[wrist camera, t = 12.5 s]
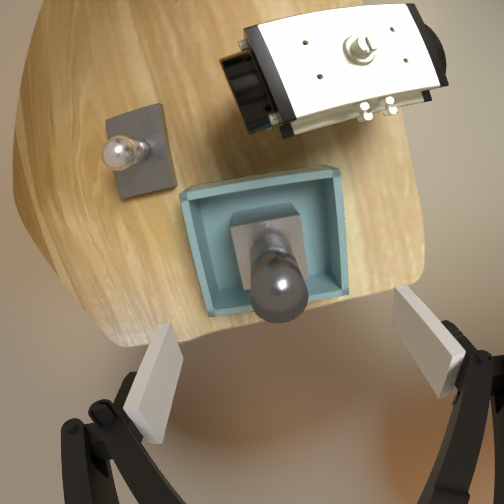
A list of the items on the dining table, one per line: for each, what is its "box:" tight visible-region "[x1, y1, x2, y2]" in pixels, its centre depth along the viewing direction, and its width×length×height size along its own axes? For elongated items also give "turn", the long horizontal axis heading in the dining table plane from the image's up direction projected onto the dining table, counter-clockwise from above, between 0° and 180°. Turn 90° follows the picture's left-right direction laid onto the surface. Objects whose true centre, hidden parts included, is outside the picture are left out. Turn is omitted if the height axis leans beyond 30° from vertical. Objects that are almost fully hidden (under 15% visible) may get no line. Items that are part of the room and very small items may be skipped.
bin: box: [179, 165, 349, 317], centre depth 34 cm, size 14×16×6 cm
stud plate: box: [102, 103, 177, 199], centre depth 29 cm, size 10×7×9 cm
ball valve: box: [219, 4, 449, 141], centre depth 22 cm, size 18×8×18 cm, turn 110°
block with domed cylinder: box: [230, 202, 309, 323], centre depth 28 cm, size 7×7×16 cm
